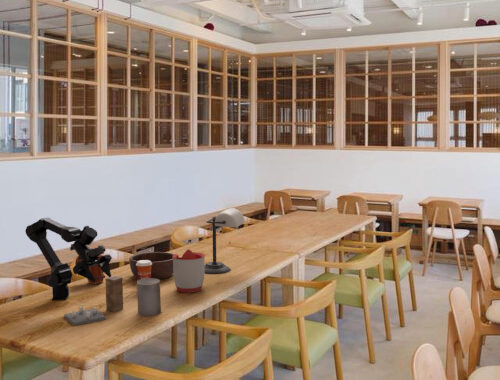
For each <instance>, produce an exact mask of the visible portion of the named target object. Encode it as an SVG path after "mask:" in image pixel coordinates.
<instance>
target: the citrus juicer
mask: <svg viewBox="0 0 500 380" xmlns="http://www.w3.org/2000/svg"><path fill="white" fill-rule="evenodd" d="M173 254H174V255H173V256H172V257H173V275H172V276H173V282H174V286H175V288H176V290H177V291H178V292H181V293H185V294H187V293H188V294H189V293H195V292H199V291H201V290H202V288H203V285H204V282H205V275H206V274H205V256H206V254H204V253H201V252H198V251H197V252H196V251H195V252H193V251H192V250H191V249H189V248H188V249H186V250H185V252H184V253H183V254H182V256H179V254H177V253H176V254H175V253H173Z"/></svg>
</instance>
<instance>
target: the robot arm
mask: <svg viewBox="0 0 500 380" xmlns="http://www.w3.org/2000/svg"><path fill="white" fill-rule="evenodd" d="M47 231H51V232H53V233H55V234H57V235H58V236H60V237H61V239H62V240H64V242H66V243H71V244H70V247H69V250H70V251H75V253H76V254H77V256H79V258H78V259H79V260H82V261H80V262H77V264H76V265H74V266H73V267H72V269H71V268H70V266H69V264H68V263H67V262H66V263H62V262H61V260H60V259H59V257H58V255H57V253H56V252H55V250H54V248H53V247H52V245H51V243H50V241H49V240H48V238H47V234H48V232H47ZM25 235H26V236H27V237H28V239H29V240H30V241H32V242H33V243H35V244H36V245H37V247H38V248H39V250H40V252H41V253H42V255H43V258H44V259H45V260H46V262H47V264H48V266H49V267H50V276H51V277H50V279H49V280H48V285H49V286H48V287H52V289H51V290H52V298H51V300H53V301H54V300H59V301H60V300H67V299H68V298H69V296H70V286H68V285H69V284H71V282H72V279H73V274H74V275H78V276H80V277H83V278H85V279H87V280H88V279H89V280H91V281H93V282H95V281H96V280H95V278H94V276H93V275H92V273H91V271H90V270H89V267H91V266H94V265H98V266H99V267H101V268H100V269H101V270H102V271H103V274H104V275H105V276H106V277H107V278H109V277H112V272H111V269H110V262H112V259H113V258H112V256H111V254H108V253H107V254H105V252H106V248H105V246H104V245H103V244H101V245H98V246H97V247H94V248H90V246H91V244H93V242H94V241H95V239H96V238H97V237H98V231H97V230H96V229H94V228H93V227H90V226H89V225H85V226H84V227H83V229H82V230H81V229H80V228H79V227H75V226H67V225H65V224H62V223H60V222H58V221H55V220H53V219H52V218H50V217H43V218H40V219H39V220H37V221H36V222H33V223H32V224H29V225H27V226H26V228H25ZM99 255H102V257H101V258H100V259H99V260H97V258H99V257H100V256H99Z"/></svg>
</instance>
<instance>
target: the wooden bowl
mask: <svg viewBox="0 0 500 380" xmlns="http://www.w3.org/2000/svg"><path fill="white" fill-rule="evenodd" d="M174 254H175V253H171V252H167V251H166V252H165V251H162V252H161V251H151V252H140V253H136V254H133V255H131V256H130V257H129V258H128V260H129V266H130V271H131V273H132V275H133V276H134V278H136V279H138V276H137V265H136V264H137V261H140V260H149V261H151V262H152V265H151V278H155V279H159V280H163V279H168V278H171V277H172V276H174V275H173V257H172V256H173V255H174Z"/></svg>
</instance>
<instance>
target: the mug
mask: <svg viewBox="0 0 500 380" xmlns="http://www.w3.org/2000/svg"><path fill="white" fill-rule="evenodd" d="M99 256H100V257H99V258H97V260H99V259H100V258H101V257H102V256H103V254H101V255H99ZM78 258H79V255H77V257H76V258H75V262H74V264H75V265H76V264H77V262H80V261H82V260H79V259H78ZM75 265H74V266H75ZM100 268H101V267H99V266H98V265H94V266H91V267H89V270H90V271H91V273H92V275H93V276H94V278H95V280H96V281H95V282H93V281H91V280H89V279H87V282H88V283H90V284H92V285H93V284H95V285H96V284H101V283H102V282H104V279H106V274H105V273H104V272H103V271H102V270H101V269H100Z"/></svg>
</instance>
